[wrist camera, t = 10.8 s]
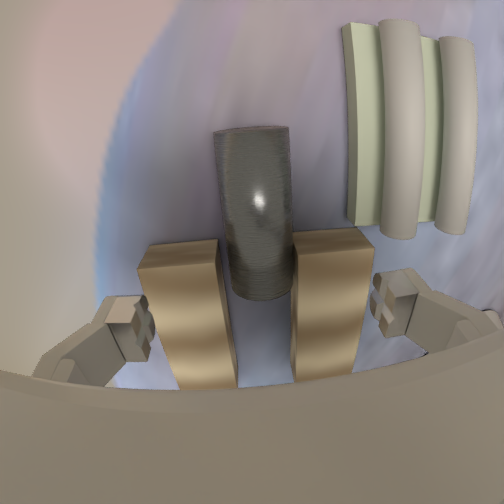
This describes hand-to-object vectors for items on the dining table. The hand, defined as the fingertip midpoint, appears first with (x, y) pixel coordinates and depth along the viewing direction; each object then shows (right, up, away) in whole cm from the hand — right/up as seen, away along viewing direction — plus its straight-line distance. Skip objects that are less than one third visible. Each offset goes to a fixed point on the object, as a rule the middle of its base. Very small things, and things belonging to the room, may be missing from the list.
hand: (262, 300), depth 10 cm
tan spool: (0, -4, +18) cm, 19 cm away
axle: (0, +6, +13) cm, 15 cm away
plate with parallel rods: (+13, +12, +11) cm, 21 cm away
